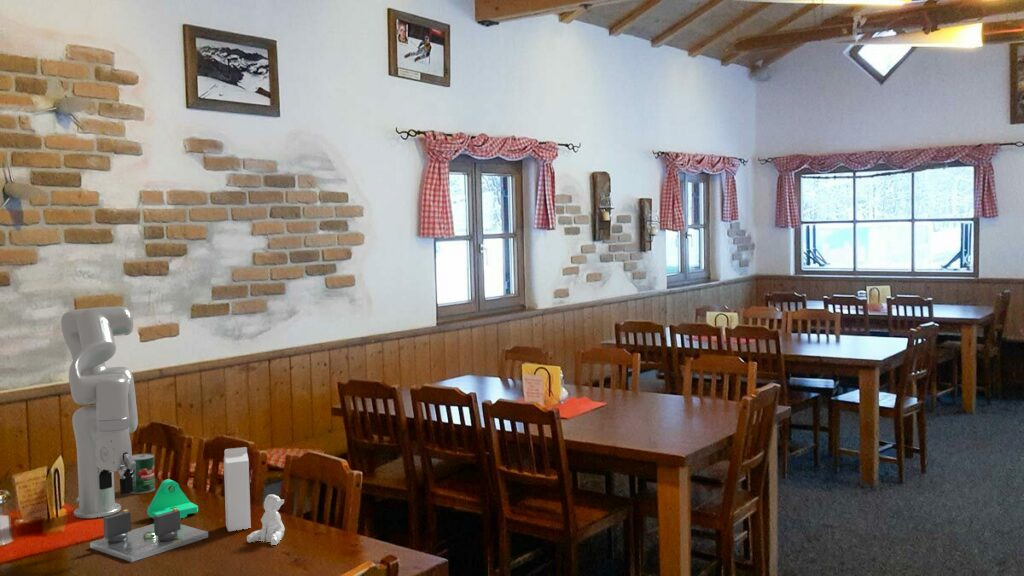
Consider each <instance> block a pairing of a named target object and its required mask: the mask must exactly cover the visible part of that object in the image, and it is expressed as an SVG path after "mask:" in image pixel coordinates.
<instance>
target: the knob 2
mask: <svg viewBox="0 0 1024 576" xmlns="http://www.w3.org/2000/svg"><path fill="white" fill-rule="evenodd" d="M153 524H154V533H155V535H156V536H158V540H160V541H169V540H173V539H176V538H177V537H178V531H177V530H181V527H180V524H181V519H180V511H179V510H178V508H174V509H173V511H170V512H166V513H162V514H159V515H155V516H154V518H153Z"/></svg>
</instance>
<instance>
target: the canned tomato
mask: <svg viewBox="0 0 1024 576" xmlns="http://www.w3.org/2000/svg"><path fill="white" fill-rule="evenodd" d="M132 459H133V460H134V461H135V462H136V465H135V472H134V473H133V474H134V476H133V492H131V493H130V494H131V495H134V494H135V495H138V494H139V495H141V494H142V495H143V494H146V493H147V494H148V493H151V492H154V491H155V490H156V477H155V476H156V475H155V455H154V454H152V453H137V454H132Z"/></svg>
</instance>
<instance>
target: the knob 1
mask: <svg viewBox="0 0 1024 576" xmlns="http://www.w3.org/2000/svg"><path fill="white" fill-rule="evenodd" d="M102 519H103V521H102V522H103V538H104V537H107V538H108V542H111V543H116V542H122V541H125V540H127V539H128V532H130V531H131V530H132V526H131V524H132V522H131V521H132V520H131V511H129V509H123V510H122V512H117V513H115V514H112V515H108V516H104V517H102Z"/></svg>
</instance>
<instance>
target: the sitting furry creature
mask: <svg viewBox="0 0 1024 576" xmlns="http://www.w3.org/2000/svg"><path fill="white" fill-rule="evenodd" d="M284 504H285V499H281V498H280V497H279V495H276V494H268V495H266V497H265V499H264V502H263V509H264V510H265V512H263V515H262V517H261V518H260V522H261V524H262V526H261V529H258V530H254V531H252V532H250V534H248V535H246V541H247V543H249V544H252V543H251V542H253V543H256V542H255V541H261V542H260V543H267V542H271V543H270V545H271V546H272V545H276V546H278V545H279V544H280V543H281V541H282V539H283V537H284V535H285V530H286V529H285V525H284V524H283V521H282V518H281V517H282V516H281V514H280V513H279V512H278V510H280V509H281V506H282V505H284ZM280 540H281V541H280ZM262 541H263V542H262ZM264 541H266V542H264ZM278 543H279V544H278ZM277 544H278V545H277Z"/></svg>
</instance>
